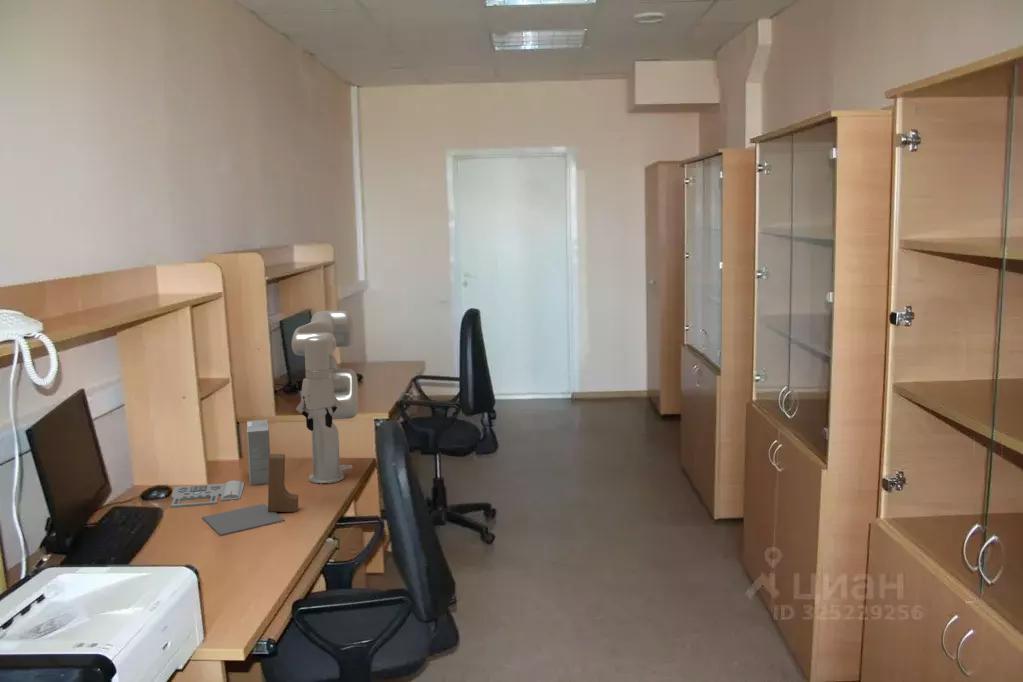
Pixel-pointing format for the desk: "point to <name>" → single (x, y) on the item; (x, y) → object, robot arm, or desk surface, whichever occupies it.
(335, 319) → the robot arm
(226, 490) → the office telephone
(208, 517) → the mat
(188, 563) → the desk surface
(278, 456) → the wooden block
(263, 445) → the hard drive box
